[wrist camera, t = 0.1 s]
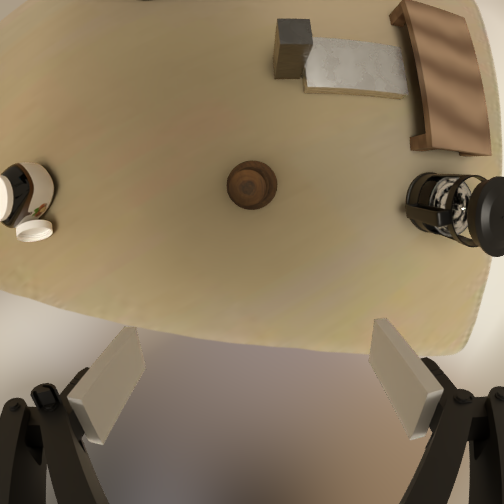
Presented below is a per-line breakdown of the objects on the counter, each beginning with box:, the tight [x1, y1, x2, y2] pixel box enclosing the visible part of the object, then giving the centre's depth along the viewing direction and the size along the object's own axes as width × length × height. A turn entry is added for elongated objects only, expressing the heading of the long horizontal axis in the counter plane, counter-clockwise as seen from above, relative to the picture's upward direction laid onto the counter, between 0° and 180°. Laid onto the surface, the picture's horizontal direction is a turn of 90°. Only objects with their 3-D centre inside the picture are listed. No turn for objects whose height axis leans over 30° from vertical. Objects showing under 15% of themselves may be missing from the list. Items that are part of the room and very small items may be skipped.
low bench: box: [389, 0, 492, 156], centre depth 33 cm, size 24×12×6 cm, turn 3°
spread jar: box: [0, 162, 55, 242], centre depth 36 cm, size 12×11×12 cm
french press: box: [405, 172, 504, 257], centre depth 29 cm, size 12×9×23 cm
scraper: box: [273, 19, 409, 99], centre depth 31 cm, size 8×19×12 cm, turn 93°
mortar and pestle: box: [227, 161, 277, 210], centre depth 32 cm, size 7×6×18 cm
